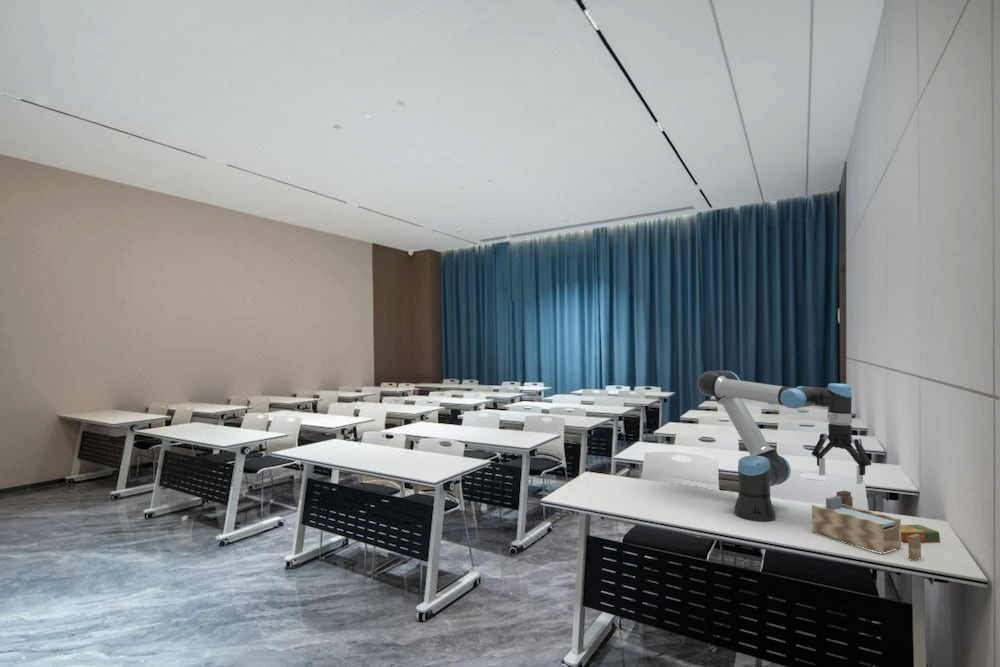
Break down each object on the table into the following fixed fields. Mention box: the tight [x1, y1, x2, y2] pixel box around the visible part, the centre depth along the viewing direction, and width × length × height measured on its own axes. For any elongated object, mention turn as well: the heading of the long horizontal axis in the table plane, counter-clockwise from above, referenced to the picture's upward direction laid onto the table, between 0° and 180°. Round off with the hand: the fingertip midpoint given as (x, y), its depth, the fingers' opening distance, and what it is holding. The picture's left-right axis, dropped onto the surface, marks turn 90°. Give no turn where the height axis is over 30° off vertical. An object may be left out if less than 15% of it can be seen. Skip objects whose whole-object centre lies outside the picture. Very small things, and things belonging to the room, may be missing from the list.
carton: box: [901, 524, 941, 544], centre depth 181 cm, size 8×16×4 cm, turn 94°
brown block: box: [835, 490, 854, 507], centre depth 193 cm, size 5×4×14 cm
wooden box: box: [811, 504, 922, 561], centre depth 177 cm, size 30×12×10 cm, turn 27°
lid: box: [822, 495, 895, 528], centre depth 180 cm, size 21×9×5 cm, turn 27°
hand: (840, 479), depth 193 cm, fingers open, 13 cm apart
